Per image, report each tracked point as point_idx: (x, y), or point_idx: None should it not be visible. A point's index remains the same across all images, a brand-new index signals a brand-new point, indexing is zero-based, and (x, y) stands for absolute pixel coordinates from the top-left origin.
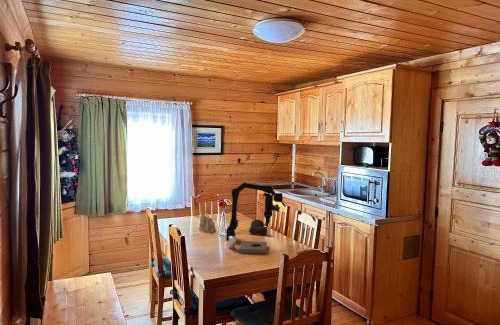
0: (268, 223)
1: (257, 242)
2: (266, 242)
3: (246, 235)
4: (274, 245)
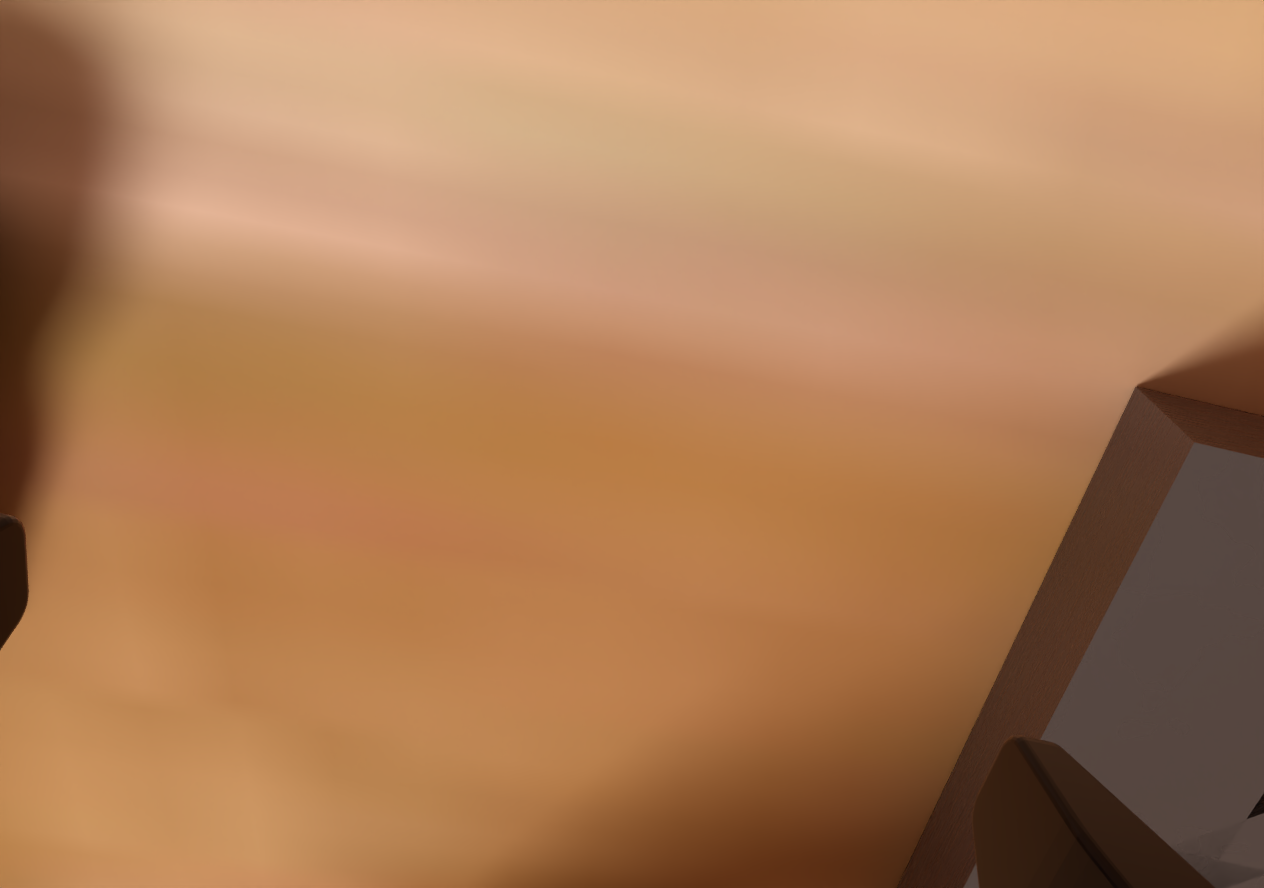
0: (1053, 766)
1: (1150, 712)
2: (1239, 460)
3: (77, 720)
4: (1128, 108)
